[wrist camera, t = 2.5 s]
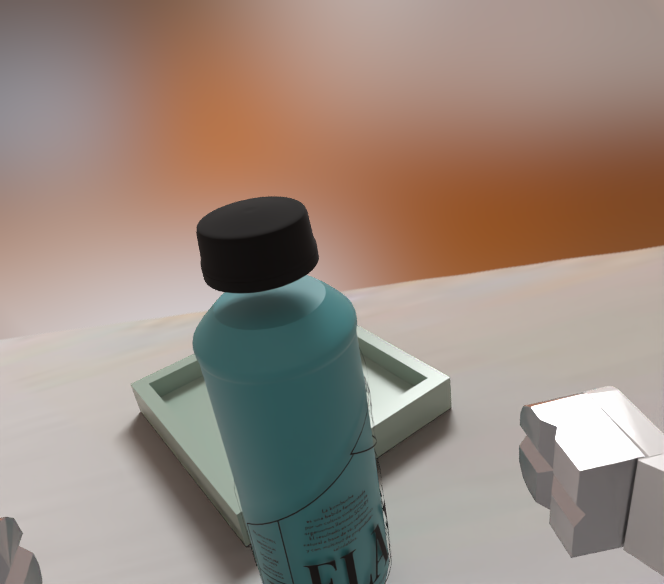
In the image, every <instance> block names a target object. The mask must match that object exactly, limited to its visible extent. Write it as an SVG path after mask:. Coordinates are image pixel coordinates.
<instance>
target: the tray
mask: <svg viewBox="0 0 664 584" xmlns="http://www.w3.org/2000/svg"><path fill="white" fill-rule="evenodd" d="M356 330H357V337H358V343H359V350H361V351H360V357H361V363H362V368H363V374H364V377H365V378H366V380H367V381H366V382H365V383H366V384H367V383H368V388H369V390H370V392H369V390H368V388H367V392H369V395H368V393H367V392H366V394H367V397H368V398H367V402H368V400H369V404H368V406H369V405H370V402H371V403H372V404H371V405H372V407H371V405H370V406H369V407H368V409H369V410H370V409H372V413H371V411H369V416H370V424H371V431H372V435H373V436H374V434H375V436H374V437H376V439H377V443H376V439H375V438H374V437H372V438H373V445H374V444H375V443H376V445H375V446H374V450H375V451H376V453H377V455H376V454H375V458H377V457H379V456H380V455H382V454H383V453H385V452H386V451H388V450H389V449H391V448H392V447H394V446H395V445H397V444H398V443H400V442H401V441H403V440H404V439H406V438H407V437H408V436H410V435H411V434H413V433H414V432H416V431H417V430H419V429H420V428H422V427H423V426H425V425H426V424H428V423H429V422H431V421H432V420H434V419H435V418H436V417H438V416H439V415H441V414H442V413H444V412H445V411H447V410H448V409H450V408H451V388H450V377H448V376H447V375H445V374H443V373H441V372H439V371H438V370H436V369H434V368H432V367H431V366H429V365H427V364H425V363H423V362H422V361H420V360H418V359H416V358H415V357H413V356H411V355H409V354H408V353H406V352H404V351H402V350H400V349H399V348H397V347H395V346H393V345H392V344H390V343H388V342H386V341H385V340H383V339H381V338H379V337H377V336H376V335H374V334H372V333H370V332H369V331H367V330H365V329H363V328H362V327H360V326H358V325H357V329H356ZM361 352H362V353H361ZM362 354H363V355H362ZM363 357H364V358H363ZM364 360H365V361H364ZM365 363H366V364H365ZM365 378H364V380H365ZM368 380H369V381H368ZM131 387H132V389H133V392H134V395H135V398H136V400H137V403H138V406H139V408H140V411H141V412H142V414H143V415H144V416H145V418H146V419H147V420H148V421H149V423H150V424H151V425H152V426H153V428H154V429H155V430H156V432H157V433H158V434H159V435H160V437H161V438H162V439H163V441H164V442H165V443H166V444H167V446H168V447H169V448H170V450H171V451H172V452H173V453H174V455H175V456H176V457H177V459H178V460H179V461H180V462H181V464H182V465H183V466H184V468H185V469H186V470H187V471H188V473H189V474H190V475H191V477H192V478H193V479H194V480H195V482H196V483H197V484H198V486H199V487H200V488H201V489H202V491H203V492H204V493H205V495H206V496H207V497H208V498H209V500H210V501H211V502H212V504H213V505H214V506H215V507H216V509H217V510H218V511H219V512H220V514H221V515H222V516H223V518H224V519H225V520H226V521H227V523H228V524H229V525H230V527H231V528H232V529H233V530H234V532H235V533H236V534H237V536H238V537H239V538H240V539H241V541H242V542H243V543H244V545H245V546H248V545H249V544H251V540H250V537H249V533H248V532H246V531H247V526H246V523H245V519H244V516H243V512H242V508H241V505H240V500H239V496H238V492H237V488H236V485H235V482H234V478H233V475H232V471H231V468H230V465H229V461H228V458H227V455H226V451H225V448H224V445H223V441H222V438H221V434H220V431H219V428H218V424H217V421H216V418H215V414H214V411H213V407H212V404H211V401H210V397H209V394H208V391H207V387H206V384H205V381H204V377H203V374H202V370H201V367H200V364H199V362H198V361H197V359H196V356H195V354H193V355H191V356H188V357H186V358H184V359H182V360H180V361H178V362H176V363H174V364H172V365H170V366H168V367H165V368H163V369H161V370H159V371H157V372H155V373H153V374H151V375H149V376H147V377H144V378H142V379H140V380H138V381H136V382H134V383H132V384H131ZM365 387H366V385H365ZM370 395H371V399H370ZM370 414H372V415H370ZM371 417H372V418H373V421H374V422H373V421H372V418H371ZM374 425H375V426H374ZM373 427H375V428H374V429H373ZM374 453H375V452H374ZM234 486H235V490H234ZM235 493H236V495H235ZM236 497H237V498H236ZM237 500H238V501H237ZM238 504H239V505H238ZM239 507H240V508H239ZM240 510H241V512H240ZM241 514H242V515H241ZM242 517H243V518H242ZM243 521H244V522H243ZM244 524H245V525H244ZM245 527H246V528H245ZM247 534H248V535H247ZM248 538H249V539H248ZM249 541H250V542H249Z"/></svg>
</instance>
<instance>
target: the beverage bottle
mask: <svg viewBox="0 0 664 584" xmlns="http://www.w3.org/2000/svg"><path fill="white" fill-rule="evenodd" d="M196 233H197V239H198V245H199V250H200V256H201V269H202V273H203V277H204V280H205V282H206V283H207V285H209V286H210V287H211V288H213V289H215V290H218V291H222V292H225V293H223V294H222V295H221V297H219V299H218V300H217V301H216V302H215V303H214V304H213V306H212V307H211V308H210V309H209V310H208V312H207V313H206V314H205V315H204V317H203V318H202V320H201V321H200V323H199V324H198V326H197V328H196V330H195V333H194V336H193V350H194V353H195V356H196V359H197V361H198V362H199V364H200V367H201V370H202V374H203V377H204V381H205V384H206V387H207V391H208V394H209V397H210V401H211V404H212V407H213V411H214V414H215V418H216V421H217V424H218V428H219V431H220V434H221V438H222V441H223V445H224V448H225V451H226V455H227V458H228V461H229V465H230V468H231V471H232V475H233V478H234V482H235V485H236V488H237V492H238V496H239V500H240V505H241V508H242V512H243V516H244V519H245V523H246V526H247V531H246V532H248V533H249V537H250V540H251V544H252V547H253V551H252V552H253V556H254V554H255V558H256V561H255V563H256V562H257V565H258V569H259V572H260V576H261V579H262V583H263V584H385V583H386V581H387V579H388V577H387V579H386V576H387V571H388V565H389V564H390V561H389V560H390V559H389V556H388V555H389V553H388V548H387V540H386V535H387V534H386V532H385V529H386V528H385V525H384V518H383V511H384V512H385V516H386V519H387V515H386V507H385V503H384V506H383V508H382V504H383V502H382V501H381V500H382V499H381V497H382V495H381V491H380V489H379V482H378V475H377V471H378V470H377V467H378V466H377V467H376V460H375V459H376V458H375V454H376V455H377V453H376V451H375V450H374V446H375V445H376V443H377V439H376V437H374V436H375V434H374V436H373V435H372V431H371V424H370V416H369V411H371V413H372V409H370V410H369V409H368V407H369V406H370V405H371V404H372V403H371V402H370V405H369V406H368V404H369V400H368V402H367V398H368V397H367V394H366V392H367V388H368V383H367V384H366V383H365V382H366V381H367V380H366V378H365V377H364V374H363V368H362V363H361V357H360V351H361V350H359V343H358V337H357V330H356V329H357V316H356V312H355V309H354V307H353V305H352V303H351V302H350V300H349V299H348V298H347V297H346V296H344V295H343V294H342V293H341V292H339V291H338V290H336V289H335V288H333V287H331V286H329V285H328V284H326V283H324V282H322V281H320V280H318V279H316V278H313V277H311V276H308V275H307V274H308V273H309V272H311V271H312V270H313V269H314V267H315V266H316V264H317V263H318V260H319V255H318V250H317V244H316V240H315V238H314V236H313V233H312V229H311V225H310V221H309V216H308V212H307V210H306V208H305V206H304V205H303V204H302V203H301V202H299V201H297V200H295V199H292V198H287V197H259V198H252V199H247V200H243V201H238V202H235V203H232V204H229V205H226V206H223V207H221V208H218V209H216V210H214V211H212V212H210V213H209V214H207V215H206V216H205V217H203V218H202V219H201V220H200V221H199V223H198V225H197V232H196ZM361 353H362V352H361ZM362 355H363V354H362ZM363 358H364V357H363ZM364 361H365V360H364ZM365 364H366V363H365ZM364 378H365V380H364ZM368 381H369V380H368ZM365 385H366V387H365ZM368 390H369V388H368ZM369 392H370V390H369ZM369 392H367V393H368V395H369ZM370 399H371V395H370ZM371 407H372V405H371ZM370 415H372V414H370ZM371 418H372V417H371ZM372 421H373V418H372ZM373 422H374V421H373ZM374 426H375V425H374ZM374 428H375V427H373V429H374ZM372 437H374V438H375V439H376V443H375V444H374V445H373V438H372ZM374 452H375V453H374ZM377 458H378V457H377ZM377 462H378V461H377ZM378 463H379V462H378ZM378 465H379V464H378ZM379 471H380V470H379ZM378 473H379V472H378ZM381 478H382V477H381ZM381 486H382V485H381ZM234 490H235V486H234ZM382 490H383V488H382ZM235 495H236V493H235ZM383 496H384V495H383ZM236 498H237V497H236ZM237 501H238V500H237ZM384 502H385V501H384ZM238 505H239V504H238ZM239 508H240V507H239ZM382 509H383V511H382ZM240 512H241V510H240ZM241 515H242V514H241ZM242 518H243V517H242ZM243 522H244V521H243ZM244 525H245V524H244ZM386 526H387V528H388V522H387V523H386ZM245 528H246V527H245ZM247 535H248V534H247ZM388 536H389V531H388ZM388 536H387V537H388ZM248 539H249V538H248ZM388 540H390V539H388ZM249 542H250V541H249ZM251 544H250V545H251ZM390 546H391V545H390V544H389V550H390ZM251 549H252V548H251ZM391 554H392V553H391V551H390V555H391ZM390 557H391V556H390ZM255 558H254V559H255ZM391 562H392V558H391ZM257 565H256V566H257ZM390 568H391V567H390ZM389 573H390V571H389ZM388 576H389V574H388ZM385 580H386V581H385Z"/></svg>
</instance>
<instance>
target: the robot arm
mask: <svg viewBox="0 0 664 584" xmlns="http://www.w3.org/2000/svg"><path fill="white" fill-rule="evenodd" d="M520 426H521V427H522V429H523V430H524V432H525V433H526V434H527V436H526V437H525V439H524V440H523V441H522V443H521V444H520V445H519V462H520V466H521V471H522V475H523V478H524V481H525V483H526V485H527V488H528V490H529V492H530V493H531V495H532V496H533V498H534V500H535V501H536V502H537V503H539V504H541V505H542V506H544V507H546V508H548V509H550V522H549V524H550V525H551V527H552V529H553V530H554V532H555V533H556V535H557V536H558V538H559V540H560V541H561V543H562V544H563V546H564V547H565V549H566V551H567V552H568V554H569V555H570V557H571V558H573V557H578V556H582V555H587V554H592V553H597V552H601V551H606V550H611V549H615V548H620V547H624V549H623V550H625V551H626V552H628V553H629V554H631V555H632V556H634V557H635V558H637V559H638V560H640V561H641V562H643V563H644V564H646V565H647V566H649V567H650V568H652V569H653V570H655V571H656V572H658V573H659V574H661V575H662V576H664V434H663V433H662V432H661V431H660V430H659V429H658V428H657V427H656V426H655V425H654V424H653V423H652V422H651V421H650V420H649V419H648V418H647V417H646V416H645V415H644V414H643V413H642V412H641V411H640V410H639V409H638V408H637V407H636V406H635V405H634V404H633V403H632V402H631V401H629V400H628V399H627V398H626V397H625V396H624V395H623V394H622V393H621V392H620V391H619V390H618V389H617V388H615V387H612V386H606V387H602V388H598V389H593V390H589V391H585V392H581V393H580V394H573V395H569V396H564V397H560V398H555V399H551V400H547V401H542V402H538V403H533V404H529V405H524V406H523V408H522V411H521V415H520ZM22 534H23V533H22V531H21V529H20V528H19V526H18V524H17V523H16V521H15V519H14V518H9V517H3V518H0V584H42V576H41V571H40V567H39V564H38V562H37V560H36V558H35V556H34V554H33V553H32V552H30V551H28V550H26V549H24V548H22V547H20V546H19V543H20V540H21V537H22Z"/></svg>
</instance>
